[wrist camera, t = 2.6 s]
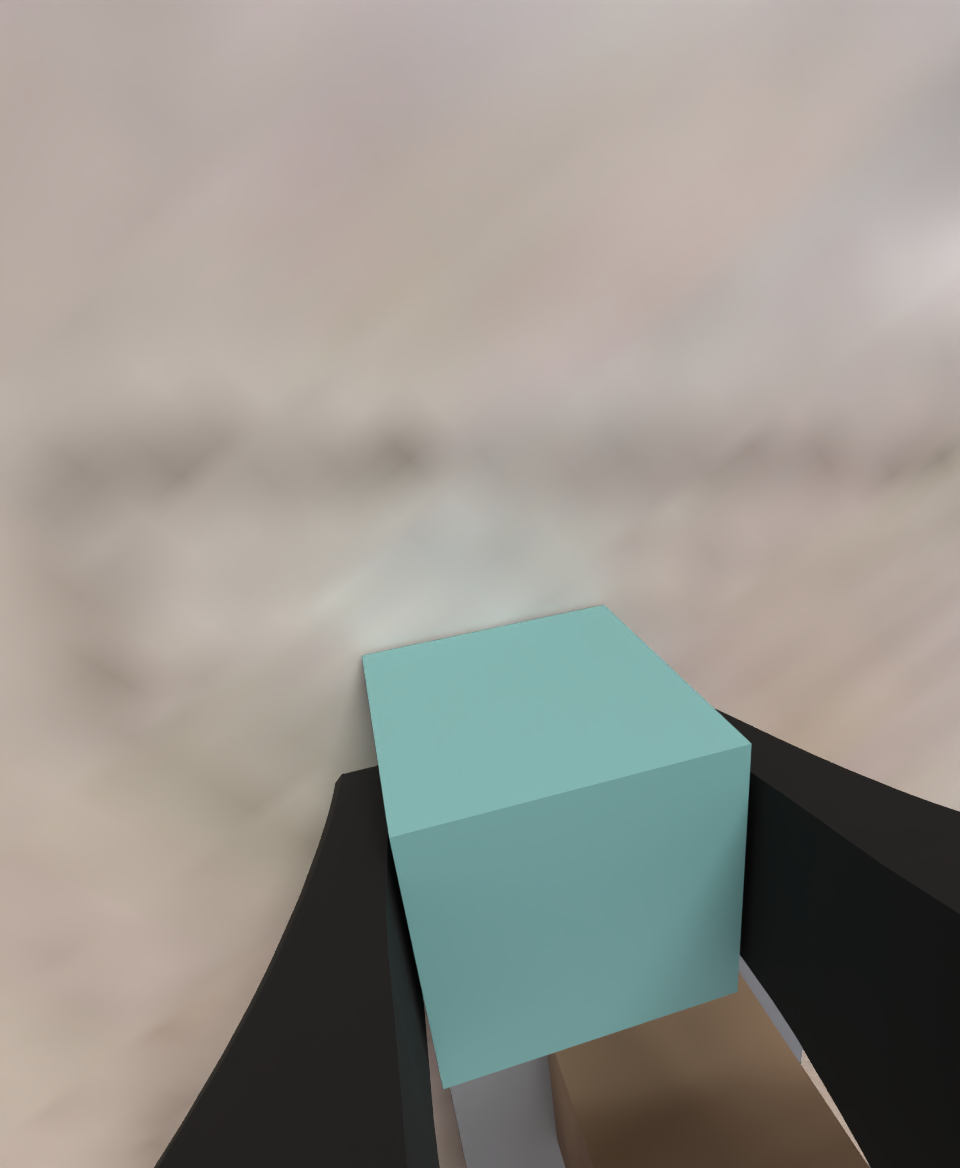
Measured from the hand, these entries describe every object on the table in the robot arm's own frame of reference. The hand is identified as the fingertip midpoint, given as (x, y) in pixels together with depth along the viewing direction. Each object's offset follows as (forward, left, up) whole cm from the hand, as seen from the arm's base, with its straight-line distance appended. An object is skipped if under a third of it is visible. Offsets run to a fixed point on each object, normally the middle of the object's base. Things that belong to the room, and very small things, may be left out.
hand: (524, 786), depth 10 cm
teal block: (0, 0, -1) cm, 1 cm away
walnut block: (-8, -2, 0) cm, 8 cm away
